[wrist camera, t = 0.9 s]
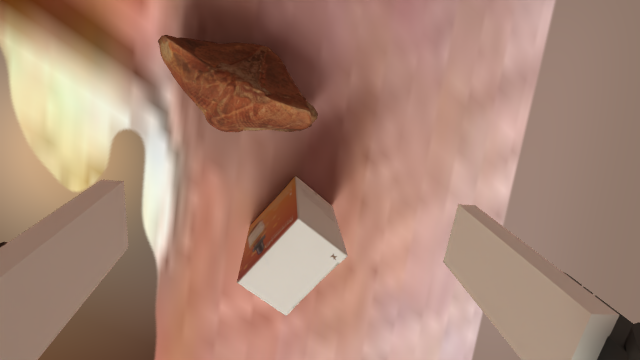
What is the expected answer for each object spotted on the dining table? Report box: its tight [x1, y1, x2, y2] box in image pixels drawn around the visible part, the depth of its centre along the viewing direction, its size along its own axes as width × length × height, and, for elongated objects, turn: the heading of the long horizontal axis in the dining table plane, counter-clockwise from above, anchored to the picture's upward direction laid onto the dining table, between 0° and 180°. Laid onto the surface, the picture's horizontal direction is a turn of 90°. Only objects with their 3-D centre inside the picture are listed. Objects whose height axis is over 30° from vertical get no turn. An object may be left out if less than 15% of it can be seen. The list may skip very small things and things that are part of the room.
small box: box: [237, 176, 347, 315], centre depth 33 cm, size 8×6×10 cm
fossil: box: [158, 35, 318, 132], centre depth 30 cm, size 13×8×10 cm
